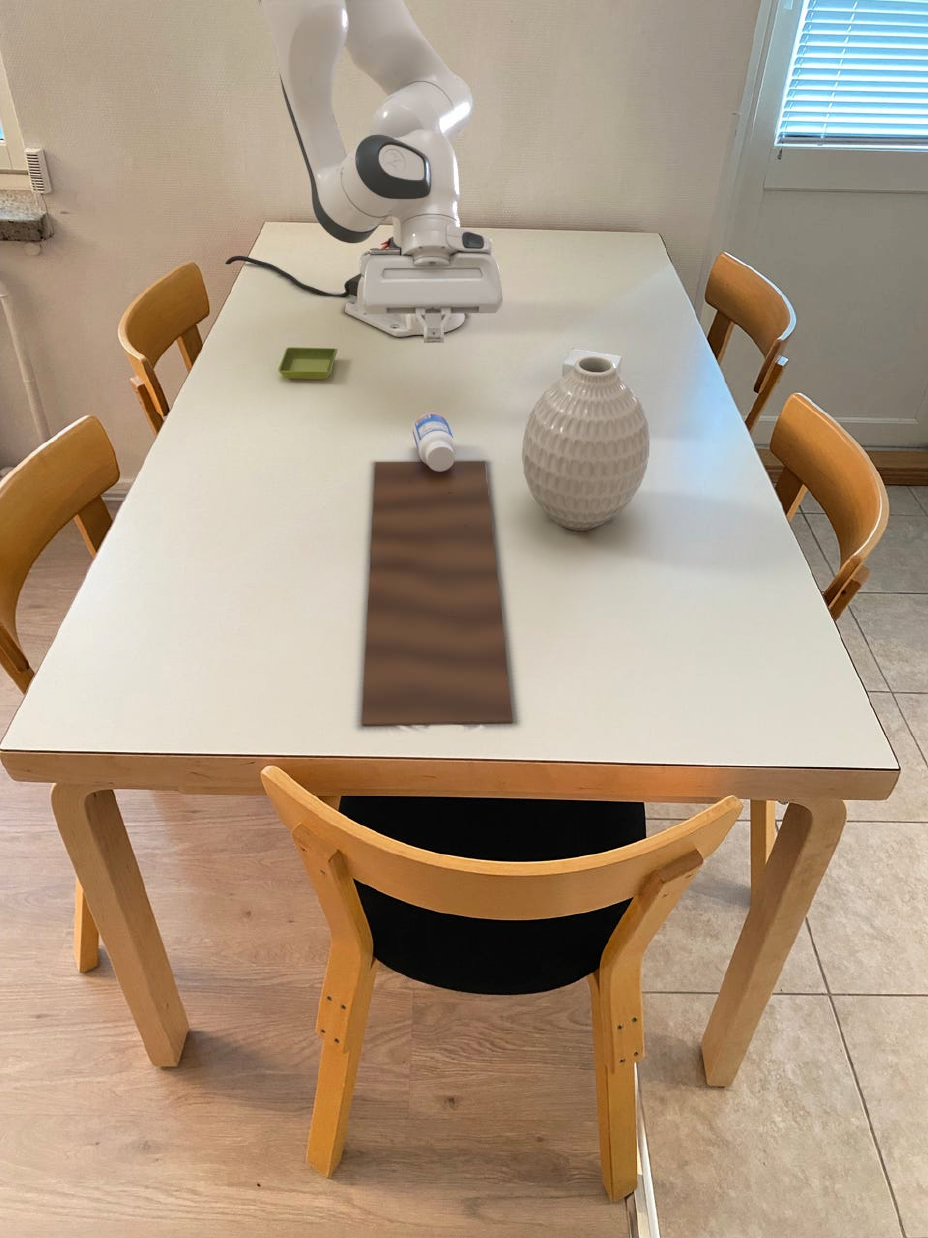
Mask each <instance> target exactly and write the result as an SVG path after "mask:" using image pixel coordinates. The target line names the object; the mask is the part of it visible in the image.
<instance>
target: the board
mask: <svg viewBox="0 0 928 1238" xmlns="http://www.w3.org/2000/svg"><path fill="white" fill-rule="evenodd" d="M370 540H371V541H370V555H369V558H370V559H369V575H368V576H369V577H368V578H369V579H368V592H367V593H368V595H367V615H366V632H365V633H366V634H365V652H364V653H365V654H364V656H365V657H364V669H363V670H364V673H363V687H362V688H363V691H362V692H363V693H362V707H361V708H362V710H361V726H391V725H392V726H393V725H394V726H395V725H396V726H397V725H399V726H400V725H446V724H451V725H452V724H455V725H456V724H500V723H503V724H504V723H513V722H514V718H513V708H512V697H511V689H510V688H511V687H510V679H509V671H508V670H509V669H508V662H507V652H506V643H505V641H506V640H505V633H504V623H503V615H502V614H503V613H502V606H501V605H502V604H501V595H500V586H499V577H498V565H497V557H496V547H495V539H494V530H493V520H492V509H491V501H490V492H489V482H488V472H487V462H486V461H485V460H471V461H470V460H469V461H465V460H463V461H461V460H460V461H459V460H458V461H457V460H456V461H455V460H454V463H453V465H452V466H451V467H450V468H449V469H447V470H445V471H441V472H439V471H434V470H432V469H431V468H430V467H429V466H428V465H427V464H425V463H424V462H423V461H375V462H374V480H373V499H372V517H371V536H370Z"/></svg>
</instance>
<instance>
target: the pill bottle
mask: <svg viewBox="0 0 928 1238" xmlns="http://www.w3.org/2000/svg"><path fill="white" fill-rule="evenodd" d="M412 435H413V439H414V442H415V445H416V449H417V452H418V456H419V457H420V459H421V462H424V463H425V464H427V465H428V466H429V467H430V468H431V469H432V470H434V471H439V472H441V471H445V470H447V469H449V468H450V467H451V466H452V465H453V463H454V461H455V459H456V458H455V457H456V452H457V446H456V441H455V439H454V436H453V434H452V431H451V429H450V426H449V423H448V421H447V419H446V418H445V417H444V416H443V415H441V414H439V413H436V412H427V413H424V414H422V415H420V416H418V418H417V419H416V420H415V422H414V423H413V426H412Z"/></svg>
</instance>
